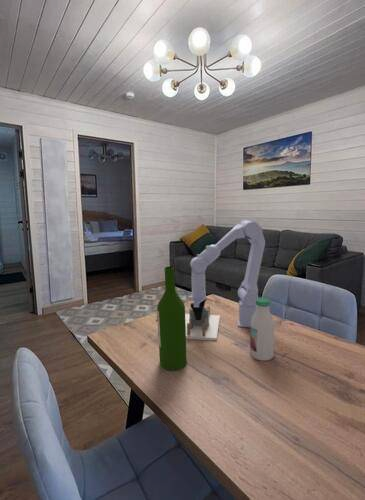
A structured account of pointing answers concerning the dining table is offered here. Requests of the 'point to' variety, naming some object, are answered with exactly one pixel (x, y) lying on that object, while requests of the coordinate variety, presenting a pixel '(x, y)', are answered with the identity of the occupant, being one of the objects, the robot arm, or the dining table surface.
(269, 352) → the milk bottle
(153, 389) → the dining table surface
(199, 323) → the slate grey rectangular block
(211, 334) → the peg rack
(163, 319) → the wine bottle
